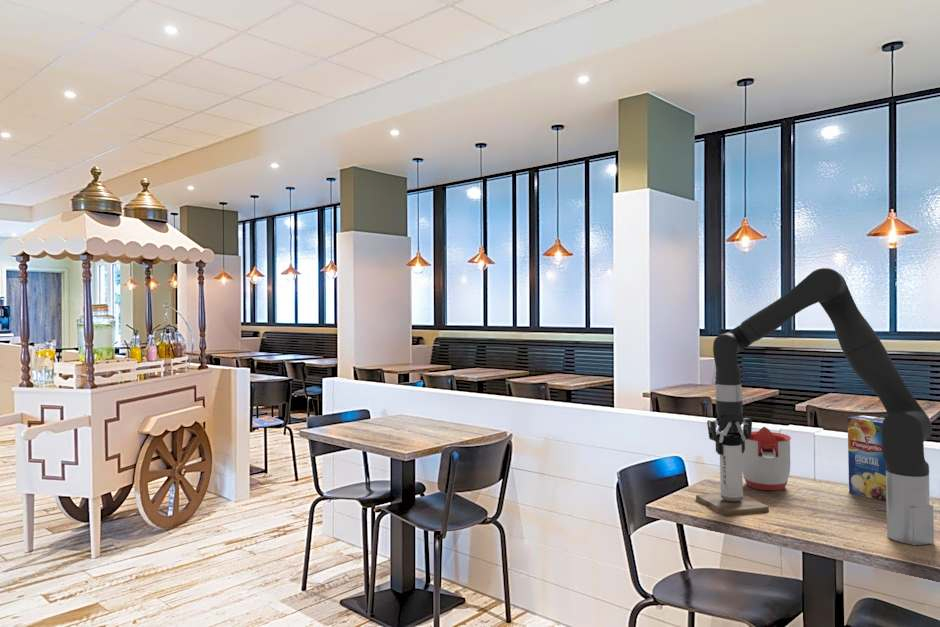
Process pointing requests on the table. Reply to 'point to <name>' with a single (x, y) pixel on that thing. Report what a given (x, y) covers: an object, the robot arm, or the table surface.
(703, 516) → the table surface
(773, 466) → the citrus juicer
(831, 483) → the table surface
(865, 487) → the juice carton
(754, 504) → the walnut board
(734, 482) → the travel mug
